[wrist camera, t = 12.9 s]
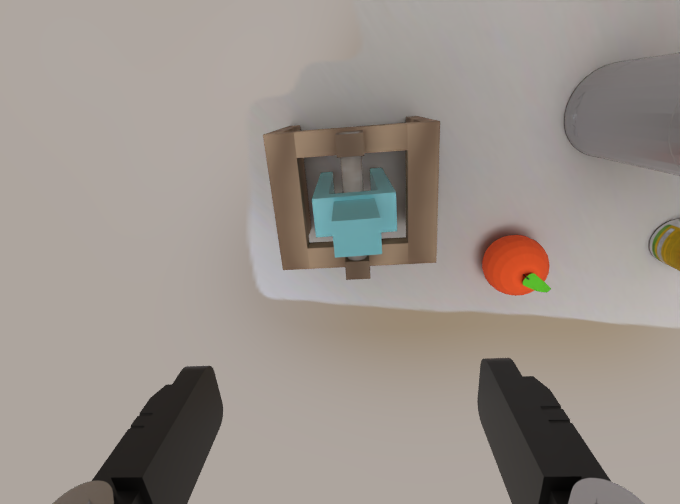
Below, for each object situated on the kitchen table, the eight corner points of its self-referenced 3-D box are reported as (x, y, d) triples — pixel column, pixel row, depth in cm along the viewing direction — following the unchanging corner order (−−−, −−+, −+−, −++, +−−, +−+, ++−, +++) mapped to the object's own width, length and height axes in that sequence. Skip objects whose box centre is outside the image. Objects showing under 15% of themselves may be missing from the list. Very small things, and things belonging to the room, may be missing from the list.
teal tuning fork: (381, 167, 37) (406, 210, 22) (382, 196, 38) (407, 256, 23) (320, 172, 37) (304, 218, 22) (323, 201, 38) (310, 263, 23)
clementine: (551, 249, 44) (585, 274, 38) (513, 291, 47) (538, 322, 40) (499, 216, 43) (525, 236, 36) (463, 261, 45) (480, 288, 39)
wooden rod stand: (417, 116, 39) (448, 123, 25) (416, 222, 44) (443, 277, 30) (289, 126, 40) (252, 138, 26) (301, 228, 45) (276, 285, 31)
